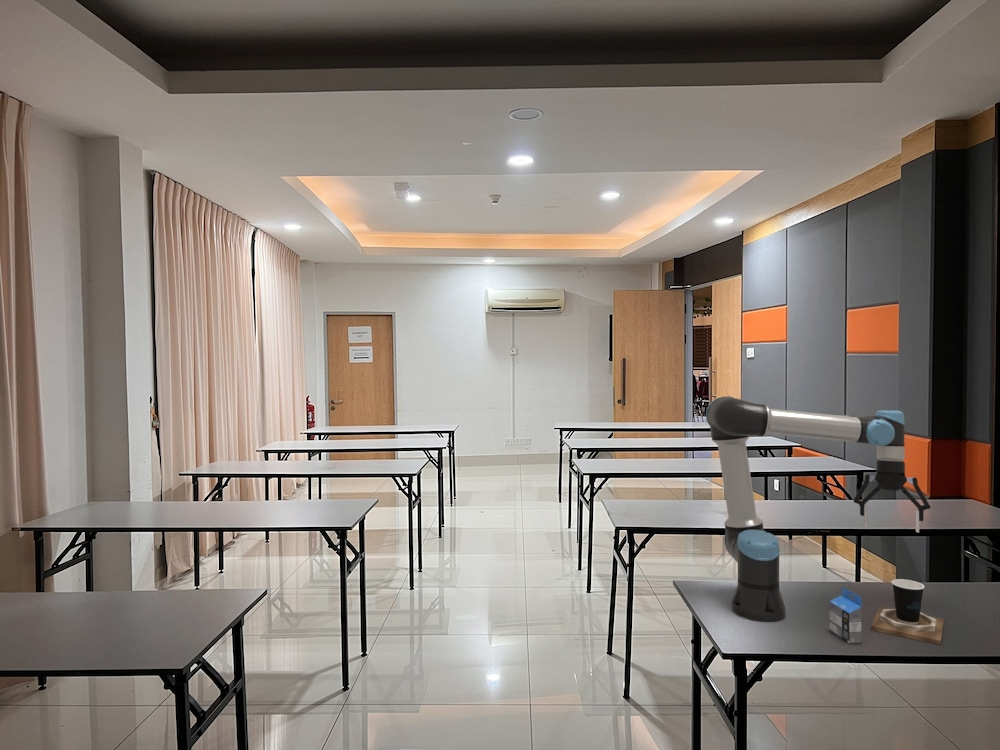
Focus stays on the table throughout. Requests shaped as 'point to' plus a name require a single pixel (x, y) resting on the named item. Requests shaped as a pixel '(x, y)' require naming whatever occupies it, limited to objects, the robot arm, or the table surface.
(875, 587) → the table surface
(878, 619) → the board
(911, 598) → the dixie cup
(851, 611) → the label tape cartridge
